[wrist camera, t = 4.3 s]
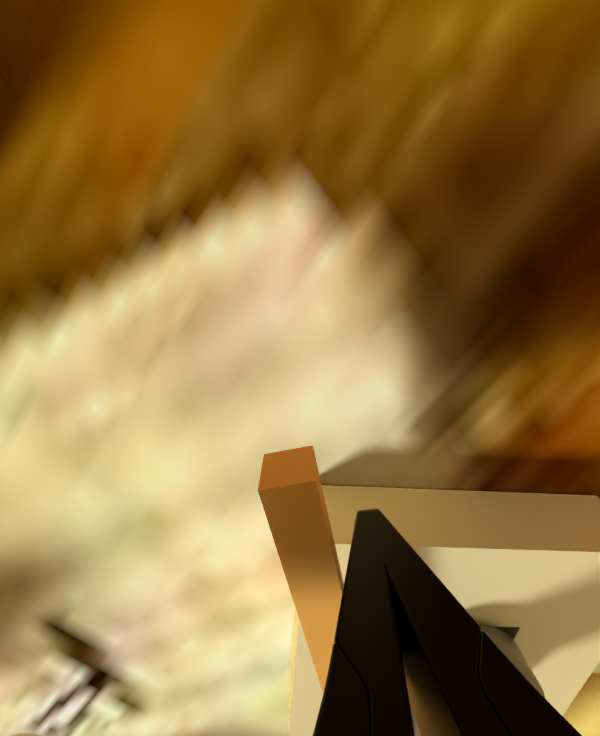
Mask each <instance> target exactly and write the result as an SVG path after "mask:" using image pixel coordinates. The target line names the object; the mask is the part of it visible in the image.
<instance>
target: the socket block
mask: <svg viewBox="0 0 600 736" xmlns="http://www.w3.org/2000/svg"><path fill="white" fill-rule="evenodd" d="M322 489H323V494H324V498H325V503H326V507H327V511H328V516H329V520H330V525H331V529H332V534H333V538H334V542H335V547H336V551H337V556H338V560H339V564H340V569H341V573H342V578H343V582H344V581H345V576H346V570H347V564H348V559H349V553H350V548H351V542H352V536H353V531H354V525H355V520H356V514H357V511H358V510H366V509H375V508H377V509H379V510H380V511H381V512H382V513H383V514H384V515H385V517H386V518H387V519H388V520H389V521H390V522H391V524H392V525H393V526H394V527H395V528H396V529H397V531H398V532H399V533H400V534H401V535H402V536H403V537H404V539H405V540H406V541H407V542H408V543H409V544H410V546H411V547H412V548H413V549H414V550H415V551H416V553H417V554H418V555H419V556H420V557H421V558H422V560H423V561H424V562H425V563H426V564H427V565H428V567H429V568H430V569H431V570H432V571H433V572H434V573H435V575H436V576H437V577H438V578H439V579H440V580H441V582H442V583H443V584H444V585H445V586H446V587H447V589H448V590H449V591H450V592H451V593H452V594H453V596H454V597H455V598H456V599H457V600H458V601H459V603H460V604H461V605H462V606H463V607H464V608H465V609H466V611H467V612H468V613H469V614H470V615H471V616H472V618H473V619H474V620H475V621H476V622H477V623H478V624H482V625H487V626H491V627H494V628H497V629H499V630H501V631H503V632H505V633H507V634H508V635H509V636H510V637H512V639H513V640H514V641H515V642H516V644H517V646H518V647H519V649H520V651H521V653H522V654H523V656H524V658H525V659H526V661H527V663H528V665H529V666H530V668H531V670H532V672H533V673H534V675H535V677H536V678H537V680H538V682H539V684H540V685H541V687H542V689H543V691H544V695H545V699H546V700H547V701H548V702H549V703H550V704H551V705H552V706H553V707H554V708H555V709H556V710H557V711H558V712H559V713H560V714H561V715H562V716H563V715H564V713H565V712H566V710H567V709H568V707H569V706H570V704H571V703H572V701H573V700H574V698H575V697H576V695H577V694H578V692H579V691H580V689H581V688H582V686H583V685H584V684H585V682H586V681H587V679H588V678H589V676H590V675H591V673H592V672H593V670H594V669H595V667H596V666H597V664H598V663H599V661H600V498H598V497H597V496H596V495H571V494H544V493H518V492H491V491H465V490H438V489H412V488H385V487H359V486H332V485H322ZM322 697H323V691H322V688H321V685H320V682H319V678H318V675H317V672H316V669H315V666H314V663H313V660H312V657H311V654H310V650H309V647H308V644H307V641H306V638H305V635H304V632H303V629H302V626H301V622H300V619H299V616H298V613H297V610H296V607H295V604H294V615H293V628H292V640H291V653H290V670H289V735H288V736H313V732H314V728H315V724H316V720H317V717H318V713H319V709H320V705H321V701H322Z"/></svg>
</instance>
